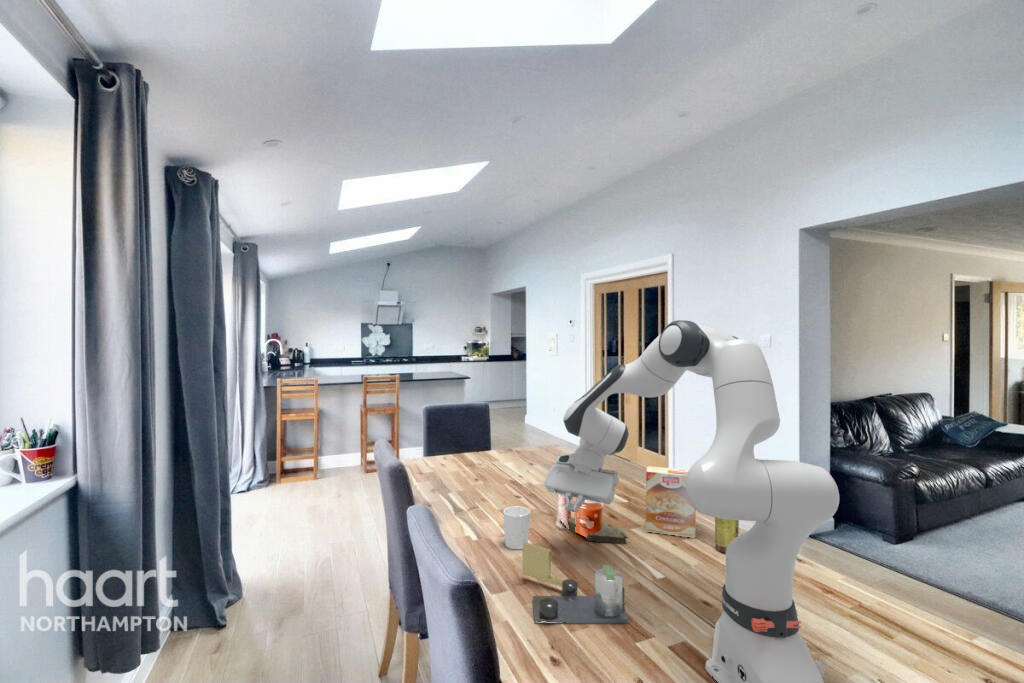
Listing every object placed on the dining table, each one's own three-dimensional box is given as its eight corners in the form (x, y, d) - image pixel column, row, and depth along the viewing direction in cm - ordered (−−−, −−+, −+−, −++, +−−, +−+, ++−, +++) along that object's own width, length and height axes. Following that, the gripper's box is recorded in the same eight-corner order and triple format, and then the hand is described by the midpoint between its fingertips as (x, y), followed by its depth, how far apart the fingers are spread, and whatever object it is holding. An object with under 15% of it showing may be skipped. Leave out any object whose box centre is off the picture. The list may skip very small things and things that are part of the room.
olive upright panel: (579, 592, 114) (580, 555, 114) (573, 598, 111) (573, 561, 111) (527, 574, 122) (527, 540, 122) (519, 580, 119) (520, 545, 119)
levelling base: (633, 624, 102) (634, 579, 101) (535, 624, 101) (535, 579, 101) (621, 599, 112) (622, 557, 111) (532, 598, 111) (533, 557, 111)
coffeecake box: (645, 532, 150) (645, 471, 150) (645, 524, 157) (646, 465, 156) (695, 539, 145) (696, 475, 145) (694, 530, 152) (695, 469, 152)
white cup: (498, 547, 138) (498, 512, 138) (510, 537, 145) (511, 504, 145) (522, 553, 135) (522, 518, 135) (534, 542, 142) (534, 509, 142)
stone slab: (547, 520, 157) (550, 505, 158) (572, 519, 164) (575, 505, 165) (608, 554, 136) (611, 537, 136) (635, 551, 143) (637, 534, 143)
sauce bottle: (741, 556, 134) (742, 485, 134) (717, 553, 136) (718, 484, 135) (735, 546, 141) (736, 479, 141) (712, 544, 142) (713, 477, 142)
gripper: (623, 478, 133) (609, 524, 125) (559, 467, 145) (542, 508, 137) (617, 466, 130) (603, 512, 122) (552, 455, 141) (534, 497, 133)
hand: (570, 510), depth 129 cm, fingers closed
